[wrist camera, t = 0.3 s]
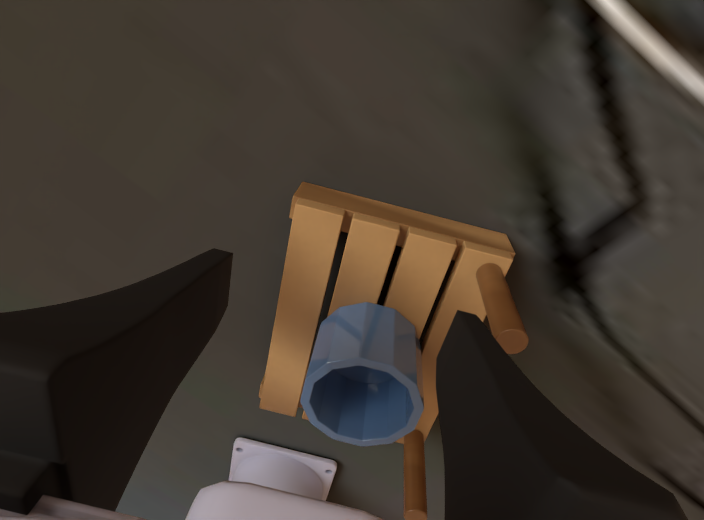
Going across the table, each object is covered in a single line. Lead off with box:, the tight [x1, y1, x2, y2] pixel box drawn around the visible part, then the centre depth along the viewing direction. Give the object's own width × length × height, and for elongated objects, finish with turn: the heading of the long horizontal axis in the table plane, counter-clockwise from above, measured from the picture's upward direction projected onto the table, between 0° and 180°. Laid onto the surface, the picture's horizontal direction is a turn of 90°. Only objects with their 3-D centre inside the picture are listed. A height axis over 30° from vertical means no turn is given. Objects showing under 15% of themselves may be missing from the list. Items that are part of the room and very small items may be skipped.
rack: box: [259, 182, 529, 520], centre depth 22 cm, size 14×11×8 cm
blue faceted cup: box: [300, 302, 424, 447], centre depth 21 cm, size 6×6×4 cm
